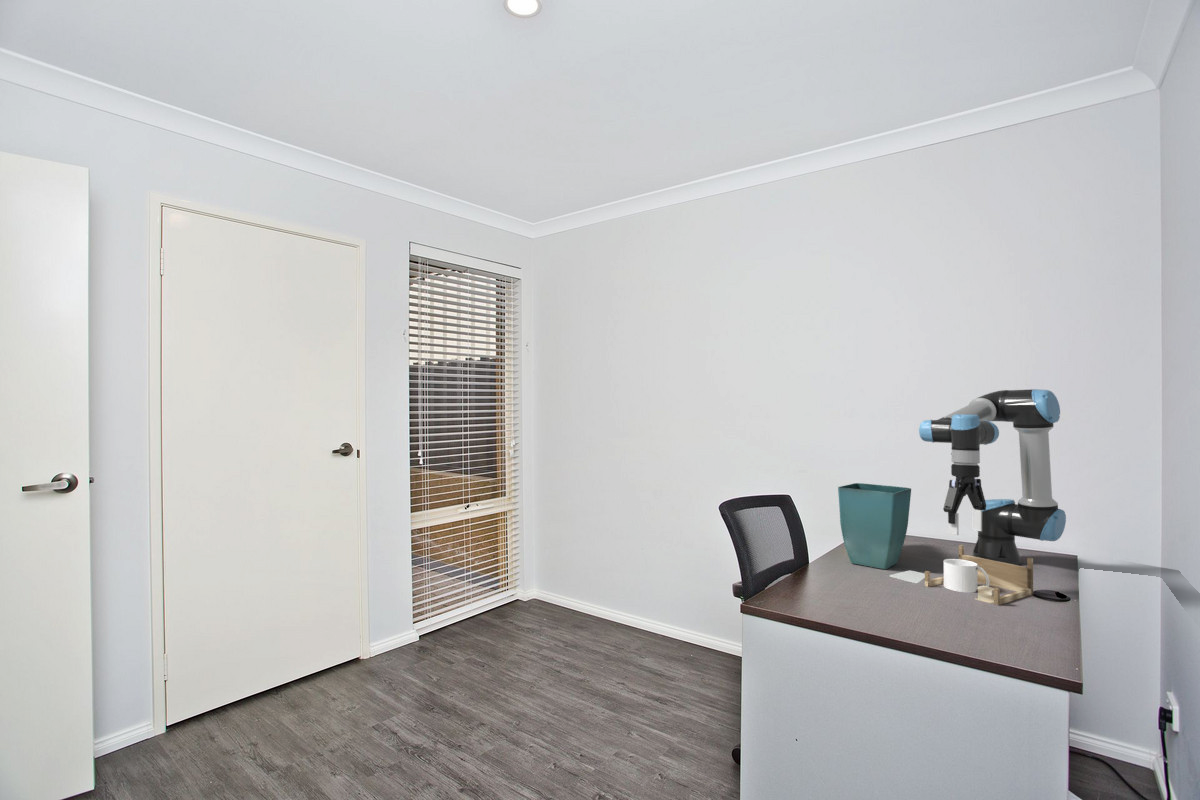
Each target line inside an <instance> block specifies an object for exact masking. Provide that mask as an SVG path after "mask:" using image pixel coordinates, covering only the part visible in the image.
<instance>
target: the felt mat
mask: <svg viewBox="0 0 1200 800" xmlns="http://www.w3.org/2000/svg"><path fill="white" fill-rule="evenodd" d="M889 577H890V578H893V579H898V580H901V581H904V582H909V583H913V584H918V583H920V582H921V581H922V580H923V579H924V580H925V572H919V571H915V570H911V569H909V570H905V571H900V572H896V573H892V574H890V575H889Z"/></svg>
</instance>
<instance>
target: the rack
mask: <svg viewBox="0 0 1200 800" xmlns="http://www.w3.org/2000/svg"><path fill="white" fill-rule="evenodd" d="M958 559H961V560H967V561H971V562H974V563H977V566H979V567H981V568H983V569H984V571H985V572H986V573H987V575H988V578H989V586H993V588H994V603H993V605H994V606H1001V605H1003V604H1007V603H1009V602H1010V603H1011V602H1013V601H1016V600H1019V599H1022V598H1026V597H1029V596H1032V595H1034V558H1031V557H1027V558H1026V559H1027V560H1026V565H1027V567H1026V566H1021V565H1013V564H1008V563H1003V562H998V561H993V560H988V559H984V558H979V557H974V556H973V555H968V554H965V545H964V544H958ZM977 572H978V583H980V584H983V585H984V584H985V585H986V583H987V581H986V577H985V575H984V573H983V572H982V571H981V570H979V569H978V568H977ZM924 574H925V578H924V587H926V588H930V587H934V586H938V585H942V584H944V575H943V576H940V577H936V578H931V571H929V570H925V571H924ZM1001 589H1005V590H1010V591H1014V592H1010V593H1007V594H1005V595H1001Z"/></svg>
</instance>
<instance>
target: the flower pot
mask: <svg viewBox="0 0 1200 800" xmlns="http://www.w3.org/2000/svg"><path fill="white" fill-rule="evenodd" d="M837 491H838V506H839V522H840V523H839V524H840V529H841V534H842V539H843V544H844V547H845V550H846V552H847V556H848V559H849V561H850V563H851V564H854V565H859V566H865V567H870V568H874V569H875V568H877V569H879V570H880V569H881V570H887V569H890V568H892V567H893V566H894V565H896V564H898V561H899V558H900V557H901V553H902V550H903V548H904V543H905V540H906V537H907V532H908V525H909V517H910V516H909V515H910V506H911V505H910V504H911V496H912V488H910V487H903V486H896V485H895V486H894V485H883V484H873V483H861V482H856V483H850V484H846V485H841V486H838V487H837Z"/></svg>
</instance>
